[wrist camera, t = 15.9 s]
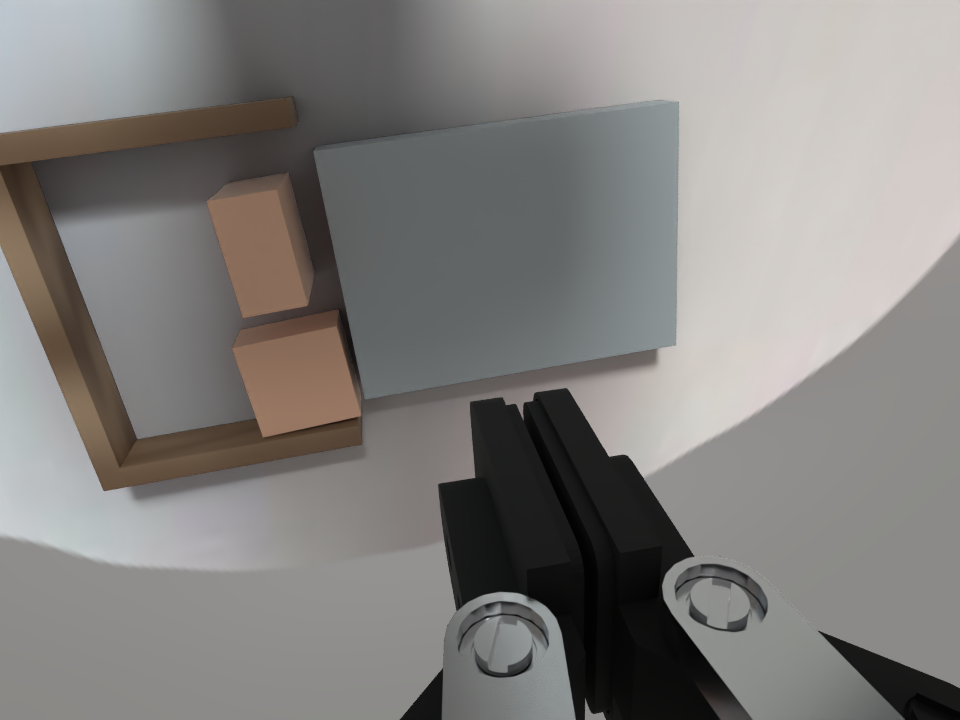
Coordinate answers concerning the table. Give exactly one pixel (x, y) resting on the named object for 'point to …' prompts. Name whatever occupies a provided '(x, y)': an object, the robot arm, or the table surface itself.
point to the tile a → (263, 244)
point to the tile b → (298, 373)
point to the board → (506, 244)
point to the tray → (68, 327)
